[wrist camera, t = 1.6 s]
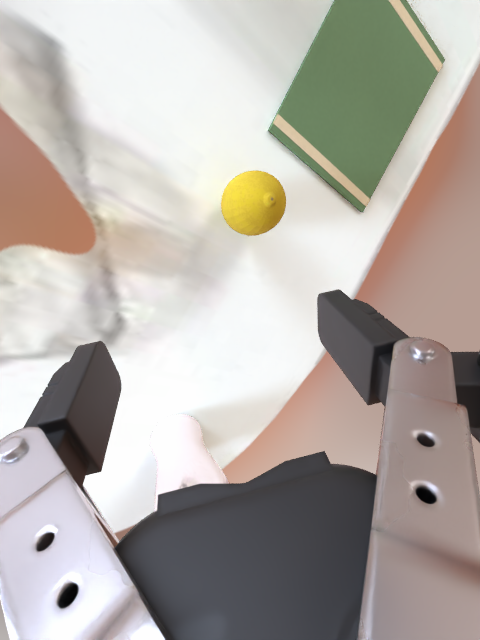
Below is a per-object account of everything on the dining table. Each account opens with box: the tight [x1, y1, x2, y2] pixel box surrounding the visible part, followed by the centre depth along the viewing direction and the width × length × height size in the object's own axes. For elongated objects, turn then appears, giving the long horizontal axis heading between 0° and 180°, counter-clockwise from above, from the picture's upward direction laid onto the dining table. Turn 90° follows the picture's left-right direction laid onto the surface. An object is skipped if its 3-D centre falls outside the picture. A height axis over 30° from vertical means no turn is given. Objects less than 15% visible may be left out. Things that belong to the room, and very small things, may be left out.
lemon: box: [221, 171, 286, 235], centre depth 27 cm, size 6×6×8 cm
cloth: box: [268, 0, 445, 212], centre depth 33 cm, size 15×20×1 cm
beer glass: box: [150, 414, 230, 512], centre depth 28 cm, size 7×7×15 cm
